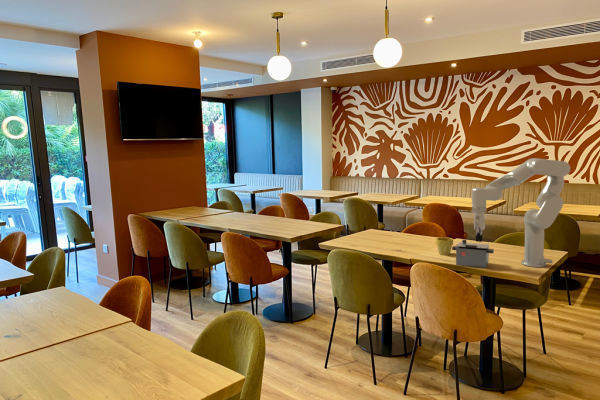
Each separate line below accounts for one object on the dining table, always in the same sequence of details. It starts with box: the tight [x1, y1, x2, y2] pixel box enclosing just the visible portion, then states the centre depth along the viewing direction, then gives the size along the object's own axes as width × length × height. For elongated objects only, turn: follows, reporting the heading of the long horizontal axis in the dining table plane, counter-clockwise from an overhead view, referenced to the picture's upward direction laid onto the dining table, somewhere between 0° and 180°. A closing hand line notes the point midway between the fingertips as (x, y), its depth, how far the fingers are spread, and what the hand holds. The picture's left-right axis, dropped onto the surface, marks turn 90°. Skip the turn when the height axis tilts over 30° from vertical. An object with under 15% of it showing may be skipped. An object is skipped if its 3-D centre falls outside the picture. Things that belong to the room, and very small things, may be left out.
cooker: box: [451, 245, 494, 269], centre depth 250 cm, size 22×12×10 cm, turn 61°
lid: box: [455, 239, 490, 249], centre depth 249 cm, size 16×14×3 cm
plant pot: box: [435, 236, 454, 256], centre depth 275 cm, size 10×10×10 cm
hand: (479, 241), depth 247 cm, fingers closed
